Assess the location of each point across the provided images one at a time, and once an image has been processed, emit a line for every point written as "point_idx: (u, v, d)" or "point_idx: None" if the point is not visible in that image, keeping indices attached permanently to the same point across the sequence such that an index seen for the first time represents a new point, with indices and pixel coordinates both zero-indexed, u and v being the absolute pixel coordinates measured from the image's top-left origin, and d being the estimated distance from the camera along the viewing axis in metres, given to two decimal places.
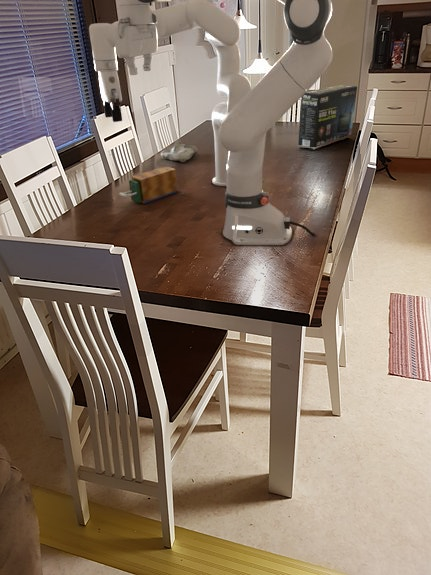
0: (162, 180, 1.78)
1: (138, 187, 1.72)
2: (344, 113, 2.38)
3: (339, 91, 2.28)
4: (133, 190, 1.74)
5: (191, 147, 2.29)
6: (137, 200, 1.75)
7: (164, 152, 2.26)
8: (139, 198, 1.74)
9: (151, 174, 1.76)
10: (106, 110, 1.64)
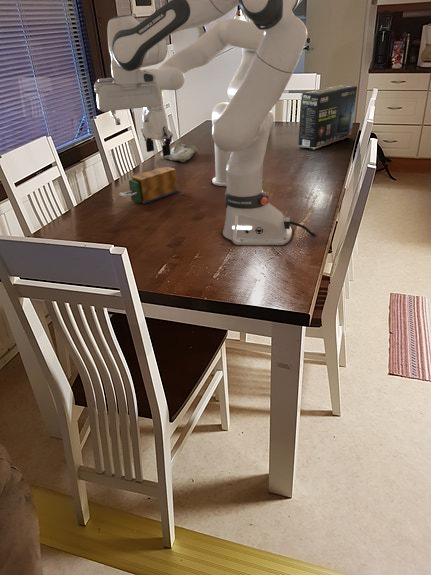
0: (162, 180, 1.78)
1: (138, 187, 1.72)
2: (344, 113, 2.38)
3: (339, 91, 2.28)
4: (133, 190, 1.74)
5: (191, 147, 2.29)
6: (137, 200, 1.75)
7: None
8: (139, 198, 1.74)
9: (151, 174, 1.76)
10: None
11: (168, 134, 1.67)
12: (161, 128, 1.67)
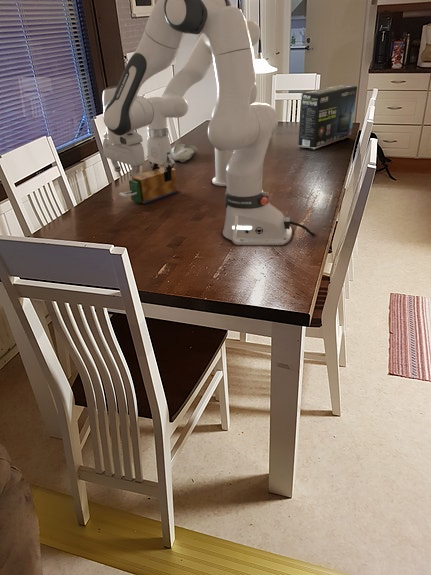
0: (162, 180, 1.78)
1: (138, 187, 1.72)
2: (344, 113, 2.38)
3: (339, 91, 2.28)
4: (133, 190, 1.74)
5: (191, 147, 2.29)
6: (137, 200, 1.75)
7: None
8: (139, 198, 1.74)
9: (151, 174, 1.76)
10: None
11: (170, 162, 1.74)
12: (165, 154, 1.73)
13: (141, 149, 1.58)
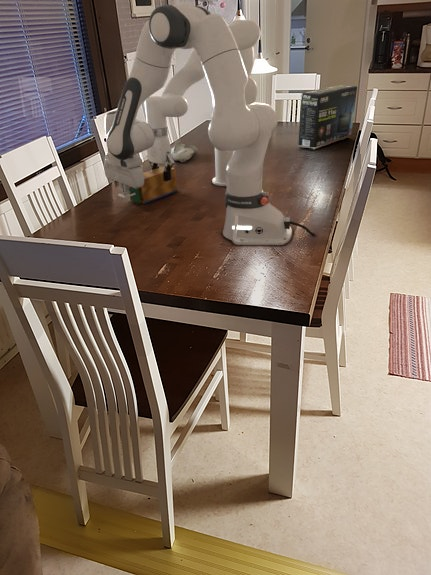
0: (162, 180, 1.78)
1: (137, 188, 1.72)
2: (344, 113, 2.38)
3: (339, 91, 2.28)
4: (132, 191, 1.74)
5: (191, 147, 2.29)
6: (136, 201, 1.75)
7: None
8: (138, 199, 1.74)
9: (151, 174, 1.76)
10: None
11: (170, 162, 1.73)
12: (164, 153, 1.72)
13: (141, 172, 1.63)
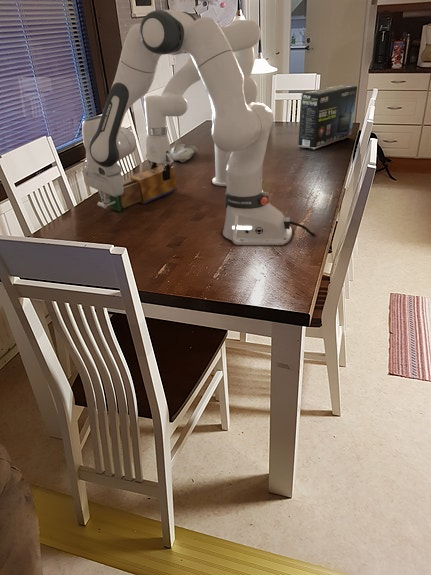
0: (161, 179, 1.78)
1: None
2: (344, 113, 2.38)
3: (339, 91, 2.28)
4: (112, 199, 1.69)
5: (191, 147, 2.29)
6: (117, 209, 1.70)
7: None
8: (118, 207, 1.69)
9: (150, 174, 1.75)
10: None
11: (169, 161, 1.73)
12: (164, 153, 1.72)
13: (120, 180, 1.57)
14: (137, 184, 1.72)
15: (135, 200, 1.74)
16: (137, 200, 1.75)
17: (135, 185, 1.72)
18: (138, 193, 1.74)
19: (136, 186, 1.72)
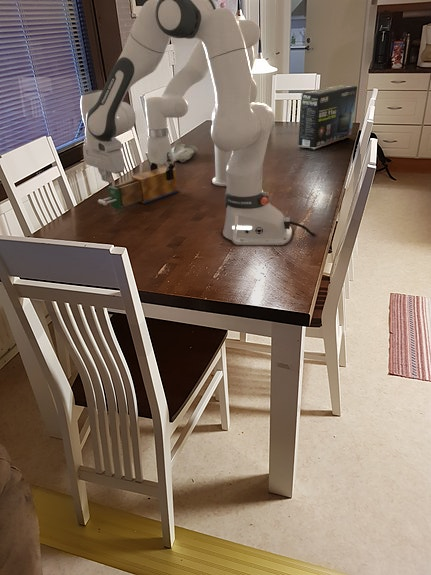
0: (162, 180, 1.79)
1: (117, 194, 1.67)
2: (344, 113, 2.38)
3: (339, 91, 2.28)
4: (112, 197, 1.69)
5: (191, 147, 2.29)
6: (117, 207, 1.69)
7: None
8: (119, 205, 1.69)
9: (151, 174, 1.76)
10: None
11: (172, 160, 1.73)
12: (165, 154, 1.73)
13: (120, 156, 1.54)
14: (138, 183, 1.72)
15: (136, 199, 1.74)
16: (138, 199, 1.75)
17: (136, 184, 1.72)
18: (139, 192, 1.74)
19: (137, 185, 1.72)
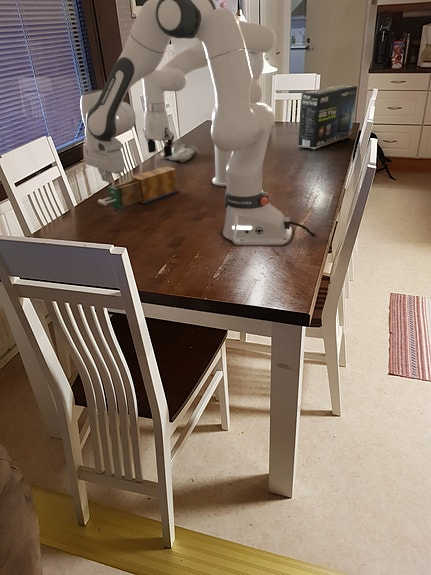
0: (162, 180, 1.79)
1: (117, 194, 1.67)
2: (344, 113, 2.38)
3: (339, 91, 2.28)
4: (112, 196, 1.69)
5: (191, 147, 2.29)
6: (117, 207, 1.69)
7: None
8: (119, 205, 1.69)
9: (151, 174, 1.76)
10: None
11: (170, 135, 1.68)
12: (163, 129, 1.68)
13: (120, 156, 1.54)
14: (138, 183, 1.72)
15: (136, 199, 1.74)
16: (138, 199, 1.75)
17: (136, 184, 1.72)
18: (139, 192, 1.74)
19: (137, 185, 1.72)
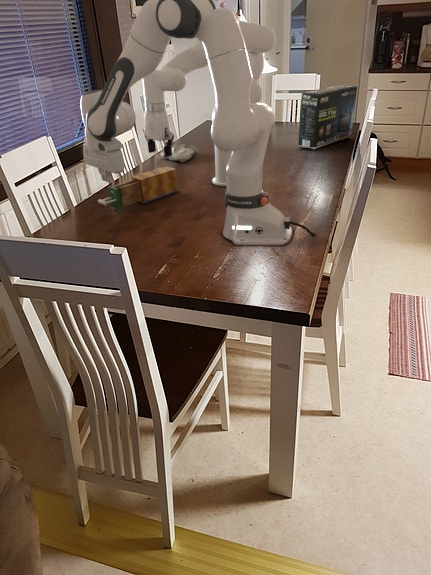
0: (162, 180, 1.79)
1: (117, 194, 1.67)
2: (344, 113, 2.38)
3: (339, 91, 2.28)
4: (112, 196, 1.69)
5: (191, 147, 2.29)
6: (117, 207, 1.69)
7: None
8: (119, 205, 1.69)
9: (151, 174, 1.76)
10: None
11: (170, 135, 1.68)
12: (163, 129, 1.68)
13: (120, 156, 1.54)
14: (138, 183, 1.72)
15: (136, 199, 1.74)
16: (138, 199, 1.75)
17: (136, 184, 1.72)
18: (139, 192, 1.74)
19: (137, 185, 1.72)
